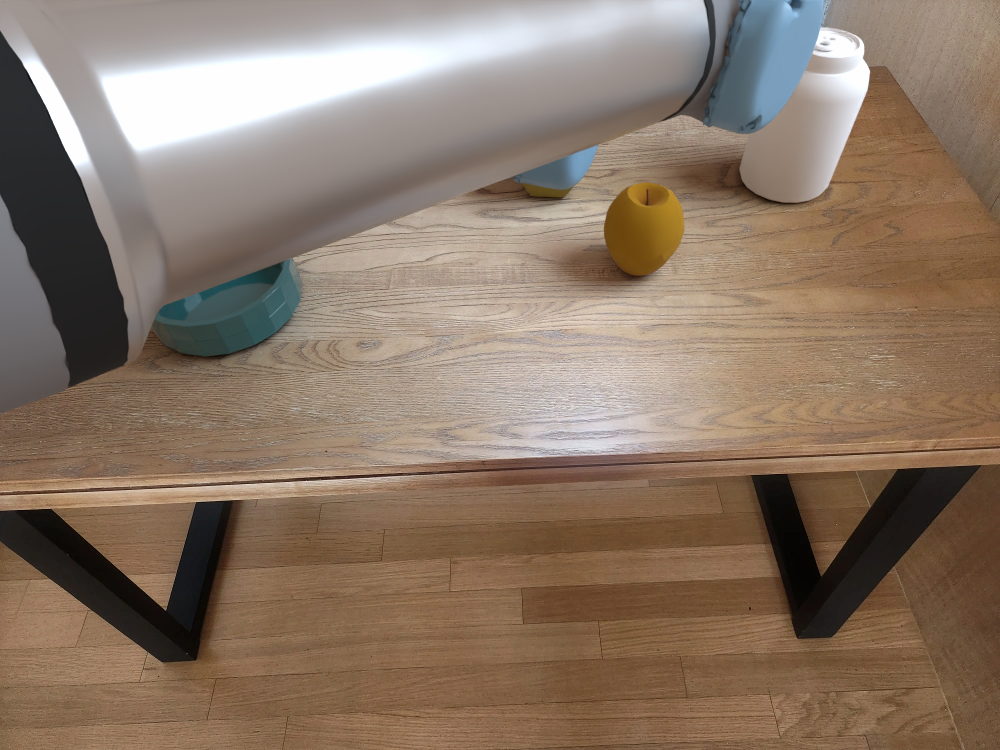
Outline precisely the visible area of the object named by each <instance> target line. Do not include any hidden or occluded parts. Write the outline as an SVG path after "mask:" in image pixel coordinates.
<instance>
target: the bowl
mask: <svg viewBox="0 0 1000 750" xmlns="http://www.w3.org/2000/svg"><path fill="white" fill-rule="evenodd" d="M302 290H303V282H302V279H301V276H300V272H299V271H298V268H297V265H296V262H295V260H294V258H291V259H288V260H286V261H283V262H280V263H277V264H275V265H272V266H269V267H267V268H264V269H261V270H259V271H256V272H253V273H250V274H248V275H245V276H242V277H240V278H237V279H234V280H231V281H229V282H226V283H223V284H221V285H218V286H215V287H213V288H210V289H207V290H204V291H202V292H199V293H196V294H194V295H191V296H188V297H186V298H183V299H180V300H177V301H175V302H172V303H169V304H167V305H164V306H163V307H162V308H161V309H160V311H159V312H158V313H157V314H156V316H155V319H154V321H153V324H152V326H151V329H150V330H152V332H153V333H154V334H155V335H156V337H157V338H158V339H159V340H160V341H161V344H163V345H164V346H166V347H168V348H169V349H172V350H174V351H176V352H178V353H179V354H185V355H192V356H200V357H210V356H211V357H212V356H220V355H229V354H232V353H235V352H239V351H242V350H243V349H247V348H249V347H252V346H256V345H257V344H259V343H261V342H262V341H264V340H265V339H267V338H269V337H270V336H272V335H274V334H276V333H277V332H278V331H279V330H280V329H281V328H282V327H283V326H284V325H285V324H286V323H287V322H288V321H289V320H290V319H291V318H292V317H293V316H294V313H295V311H296V310H297V308H298V306H299V304H300V302H301V300H302Z"/></svg>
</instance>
